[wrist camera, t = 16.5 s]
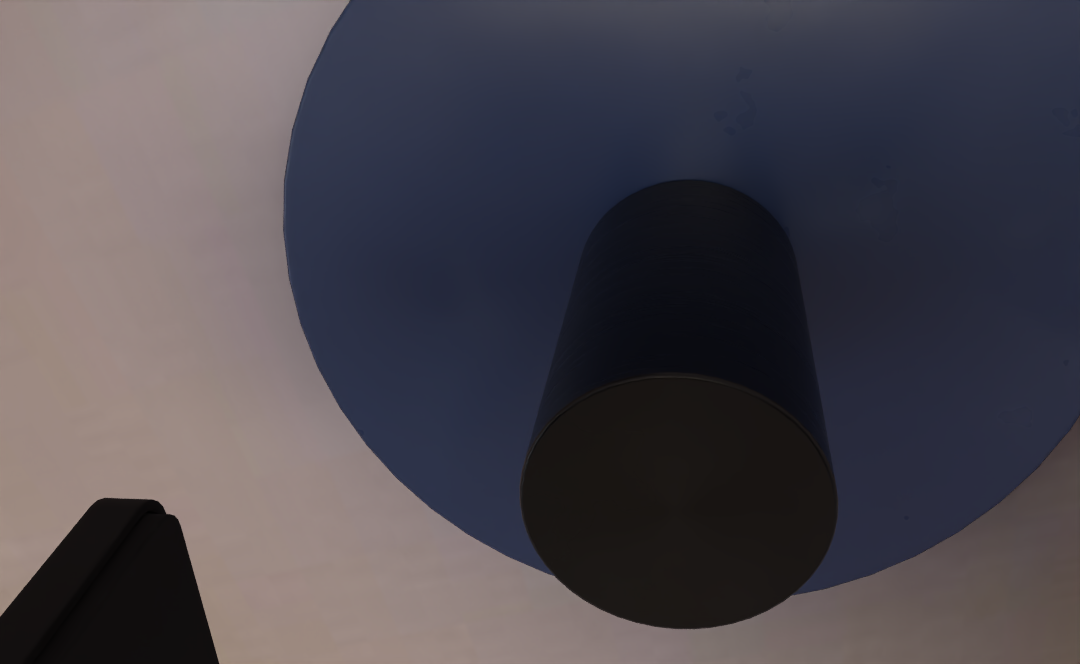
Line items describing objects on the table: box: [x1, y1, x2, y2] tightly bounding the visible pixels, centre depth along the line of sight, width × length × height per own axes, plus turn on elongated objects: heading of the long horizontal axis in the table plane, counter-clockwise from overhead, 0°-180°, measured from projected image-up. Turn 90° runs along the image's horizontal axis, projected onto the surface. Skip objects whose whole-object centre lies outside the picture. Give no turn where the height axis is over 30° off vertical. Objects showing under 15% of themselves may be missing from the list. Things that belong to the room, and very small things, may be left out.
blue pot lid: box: [283, 0, 1080, 629], centre depth 16 cm, size 15×15×8 cm
